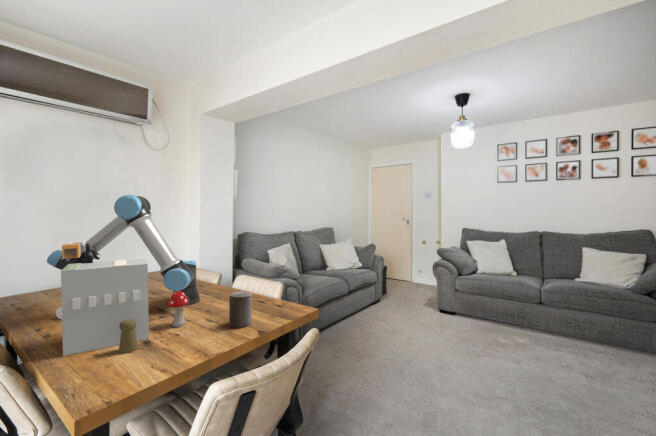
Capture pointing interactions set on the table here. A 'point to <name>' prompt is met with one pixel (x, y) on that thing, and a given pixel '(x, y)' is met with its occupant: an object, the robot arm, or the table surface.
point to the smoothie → (59, 313)
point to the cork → (128, 336)
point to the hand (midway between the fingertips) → (76, 242)
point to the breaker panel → (102, 303)
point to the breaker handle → (72, 250)
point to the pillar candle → (240, 309)
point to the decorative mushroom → (178, 307)
